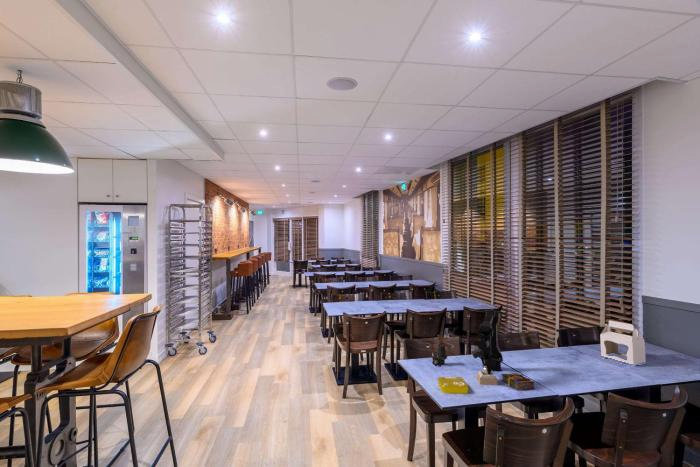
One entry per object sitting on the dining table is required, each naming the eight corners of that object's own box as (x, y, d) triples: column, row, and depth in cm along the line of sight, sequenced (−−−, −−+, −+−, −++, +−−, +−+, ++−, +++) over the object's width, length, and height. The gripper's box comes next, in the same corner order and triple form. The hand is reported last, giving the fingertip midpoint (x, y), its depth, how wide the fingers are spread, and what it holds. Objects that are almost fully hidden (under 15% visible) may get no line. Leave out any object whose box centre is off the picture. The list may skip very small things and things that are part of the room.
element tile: (462, 384, 205) (461, 376, 205) (469, 394, 190) (469, 386, 190) (437, 383, 206) (437, 375, 206) (442, 394, 191) (442, 385, 191)
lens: (481, 374, 210) (481, 364, 210) (489, 374, 209) (489, 364, 209) (483, 376, 205) (483, 366, 205) (492, 377, 204) (491, 367, 205)
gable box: (646, 364, 236) (644, 324, 238) (634, 367, 232) (632, 326, 233) (612, 355, 257) (610, 318, 259) (600, 357, 253) (598, 320, 254)
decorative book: (517, 379, 211) (517, 371, 211) (536, 390, 195) (535, 381, 195) (501, 381, 209) (501, 373, 209) (518, 391, 193) (518, 383, 193)
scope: (431, 343, 244) (444, 343, 245) (431, 363, 243) (445, 362, 244) (434, 346, 236) (448, 346, 236) (435, 366, 235) (449, 366, 236)
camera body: (493, 380, 210) (493, 371, 210) (497, 385, 202) (497, 375, 202) (476, 379, 211) (476, 370, 212) (480, 384, 203) (480, 375, 204)
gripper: (469, 341, 218) (469, 365, 217) (476, 349, 200) (476, 376, 199) (486, 342, 217) (487, 366, 216) (495, 350, 198) (496, 377, 197)
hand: (486, 371), depth 207 cm, fingers open, 9 cm apart
